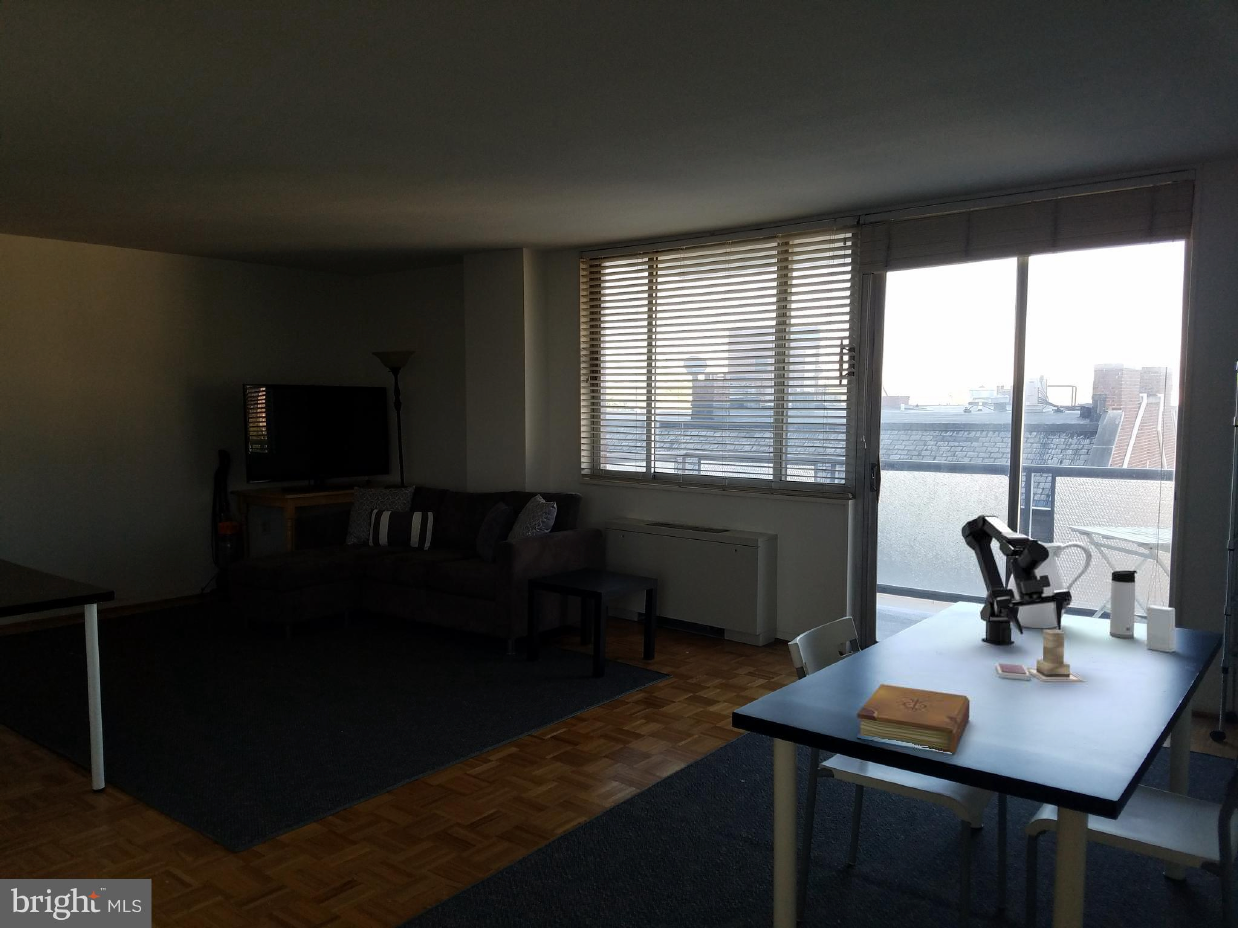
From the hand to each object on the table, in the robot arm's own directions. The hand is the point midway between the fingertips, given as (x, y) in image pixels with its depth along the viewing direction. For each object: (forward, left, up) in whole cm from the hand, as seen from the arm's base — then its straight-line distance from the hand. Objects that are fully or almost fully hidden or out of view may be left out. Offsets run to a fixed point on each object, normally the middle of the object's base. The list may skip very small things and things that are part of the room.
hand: (1040, 631), depth 229 cm
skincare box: (+3, +44, -9) cm, 45 cm away
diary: (+23, -65, -10) cm, 69 cm away
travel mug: (-12, +49, -9) cm, 52 cm away
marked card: (+8, -5, -9) cm, 13 cm away
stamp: (+8, -5, -9) cm, 12 cm away
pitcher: (-30, +39, -9) cm, 51 cm away
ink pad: (+3, -13, -9) cm, 16 cm away
